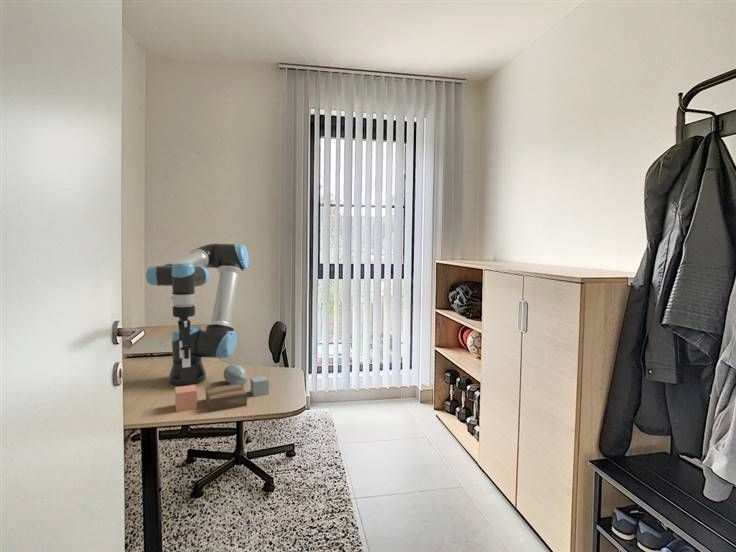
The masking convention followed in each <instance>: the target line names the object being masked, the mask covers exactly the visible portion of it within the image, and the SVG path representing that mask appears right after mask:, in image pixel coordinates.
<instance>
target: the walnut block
mask: <svg viewBox="0 0 736 552" xmlns="http://www.w3.org/2000/svg"><path fill="white" fill-rule="evenodd" d="M205 400H206V404H207V407H208V408H209V411H210V413H211V412H217V411H224V410H229V409H230V410H231V409H236V408H242V407H246V406H248V393H247V392H246V390H245V389H244V387H243V386H241V384H240V383H238V384H231V385H230V384H225V385H218V386H212V387H210V386H209V387H205Z"/></svg>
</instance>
